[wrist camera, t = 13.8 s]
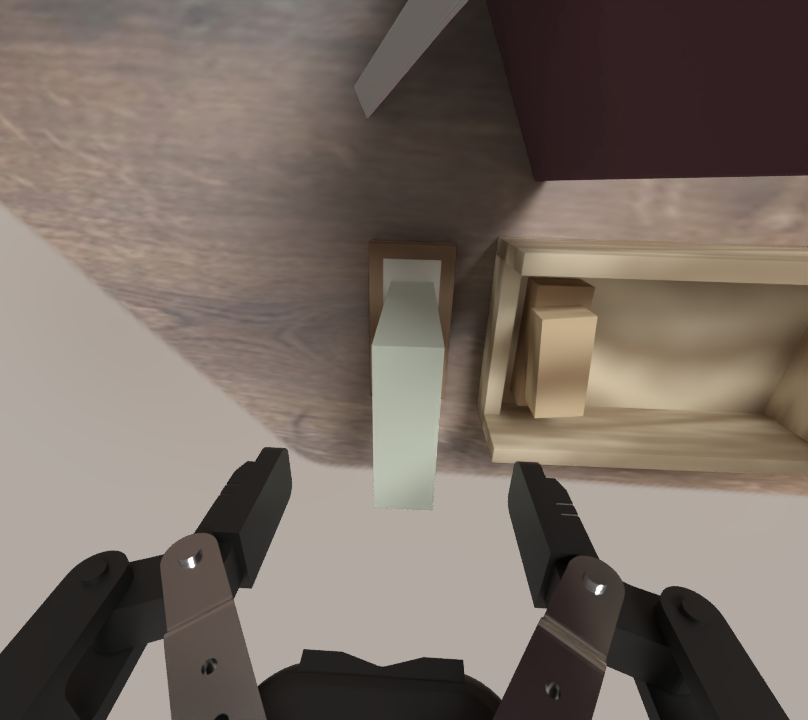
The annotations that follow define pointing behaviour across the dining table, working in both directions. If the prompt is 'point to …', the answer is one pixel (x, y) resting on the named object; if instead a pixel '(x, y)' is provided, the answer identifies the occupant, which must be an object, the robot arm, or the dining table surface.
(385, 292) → the board
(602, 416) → the tray
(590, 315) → the offcut upper
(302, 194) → the dining table surface
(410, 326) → the pale green slanted prism
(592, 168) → the picture frame
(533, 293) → the offcut lower
